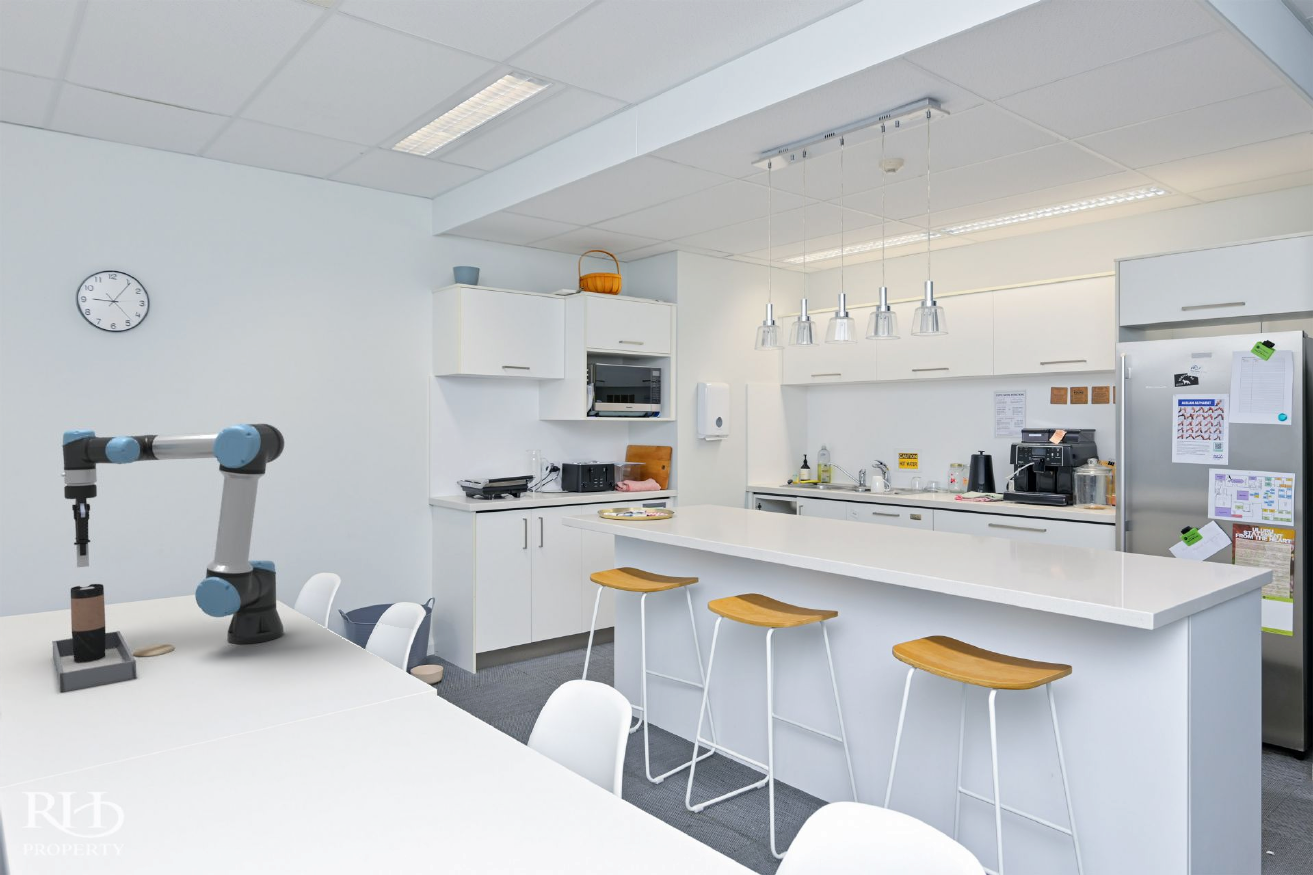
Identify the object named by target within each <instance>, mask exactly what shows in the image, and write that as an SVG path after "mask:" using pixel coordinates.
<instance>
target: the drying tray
mask: <svg viewBox="0 0 1313 875" xmlns="http://www.w3.org/2000/svg"><path fill="white" fill-rule="evenodd" d="M51 645H52V658H53V663H54V667H55V673H56V676H57V677H56V678H57V682H58V685H59V686H58V687H59V691H60V693H64V692H71V691H76V690H81V689H86V688H91V687H96V686H101V685H106V684H114V683H118V682H123V681H128V680H133V679H137V660H136V659H135V656H133V652H132V651H131V650H130V648H129V646H128V645H127V642H126V640H125V638H124V636H123V635H122V633H121V631H120V630H117V631H111V632H105V650H110V649H116V648H117V650H118V653H119V654H120V656H121V658H122V660H123V662H122V661H121V662H115V663H112V664H111V663H110V664H105V665H100V666H95V667H89V668H82V669H77V670H71V671H65V672H64V667H63V663H62V661H61V660H62V659H61V657H65V656H66V657H67V656H74V654H73V641H72V637H71V638H65V639H57V640H52V644H51Z"/></svg>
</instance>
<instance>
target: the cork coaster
mask: <svg viewBox="0 0 1313 875" xmlns="http://www.w3.org/2000/svg"><path fill="white" fill-rule="evenodd" d="M174 650H175V646H174V645H172V644H156V645H154V644H153V645H148V646H145V647H144V646H143V647H141V648H138V649H136V650H134V651H132V655H133V657H136V658H148V657H149V658H151V657H157V656H162V655H167V654H168V653H171V652H173V651H174Z"/></svg>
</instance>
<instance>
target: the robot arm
mask: <svg viewBox="0 0 1313 875" xmlns="http://www.w3.org/2000/svg"><path fill="white" fill-rule="evenodd" d="M61 446H62V456H63V472H64V473H61V474H60V475H61V476H60V477H64V479H63V482H64V484H65V485H64V488H63V491H64V498H65V500H75V501H74V502H75V503H74V504H72V507H71V509H72V511H73V519H74V523H75V527H74V528H75V542H73V545H74V546H76V568H84V567H85V568H87V567H90V562H89V561H90V557H89V555H90V554H89V543H91V540H90V539H89V520H90V511H91V505H90V503H88V502H87V500H88V499H93V498H96V497H98V496H97V495H98V494H97V492H98V488H97V485H96V482H97V480H98V479H97V478H98V477H97V464H113V465H114V464H115V465H116V464H117V465H123V464H124V465H126V464H132V463H134V462H144V461H145V462H146V461H162V460H165V461H166V460H187V459H189V460H192V459H210V458H211V459H215V458H216V461H217V462H218V463H219V466H218V467H219V468H218V472H220V473H221V474H222V476H223V477H224V478H223V484H222V493H221V502H220V509H219V517H218V518H219V520H218V525H217V526H218V527H217V534H216V541H215V542H216V543H215V551H214V557H213V561H212V562H210V563H209V564H208V565H207V566H206V571H205V572H206V573H205V578H204V579H203V580H201V582H199V584H198V585H197V586H196V589H195V592H194V593H195V594H194V596H195V602H196V604H197V606H198V607H199V608H200V609H201V611H202V612H203V613H204V614H205V615H208V616H209V617H212V618H223V617H228V616H231V615H232V617H231V620H230V624H229V627H228V630H227V633H226V634H227V635H226V636H227V642H228V643H230V644H237V645H238V644H239V645H242V644H244V645H245V644H246V645H247V644H256V643H263V642H268V641H273V640H275V639H278V638H280V637H282V636H283V635H284V632H285V631H284V625H283V622H282V619H281V618H280V615H279V612H278V609H277V582H276V579H277V576H276V575H277V572H276V564H275V562H273V561H271V560H249V559H250V558H249V557H250V548H251V542H252V540H251V539H252V534H253V525H254V517H255V509H256V501H257V493H258V485H259V479H261V478H262V477H263V476H265V475H266V469H267V464H269V463H271V462H274V461H276V460H277V459H278V458H279V457H280V456H281V454H283V452H284V448H285V438H284V436H283V433H282V432H281V431H280V430H279V428H277V427H275V426H274V425H271V424H267V423H245V424H244V423H238V424H234V425H230V426H227V427H225V428H224V429H223V430H221V431H218V432H214V431H213V432H197V433H194V432H193V433H173V434H145V435H131V436H128V435H127V436H105V437H104V436H103V437H102V436H101V437H99V436H96V432H95V431H94V430H92V429H91V430H90V429H89V430H88V429H84V430H83V429H79V430H77V429H75V430H73V429H72V430H71V429H70V430H66V431H64V432H63V435H62V445H61Z"/></svg>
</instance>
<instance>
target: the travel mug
mask: <svg viewBox="0 0 1313 875" xmlns="http://www.w3.org/2000/svg"><path fill="white" fill-rule="evenodd" d="M104 589H105V588H104V584H102V583H91V584H89V585H88V586H80V585H76V586H74V587H71V588H70V616H71V618H70V620H71V638H72V641H73V654H74V655H73V661H74V662H75V663H90V662H95V661H99V660H101V659H104V658H105V657H106V649H105V633H106V608H105V606H106V605H105V590H104Z"/></svg>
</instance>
